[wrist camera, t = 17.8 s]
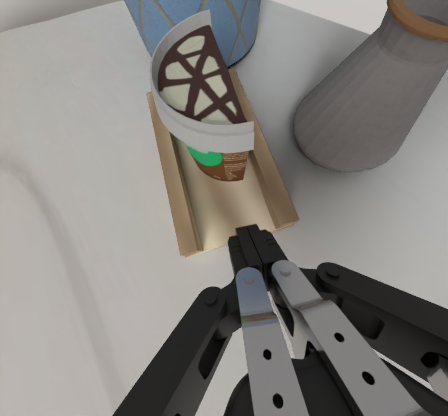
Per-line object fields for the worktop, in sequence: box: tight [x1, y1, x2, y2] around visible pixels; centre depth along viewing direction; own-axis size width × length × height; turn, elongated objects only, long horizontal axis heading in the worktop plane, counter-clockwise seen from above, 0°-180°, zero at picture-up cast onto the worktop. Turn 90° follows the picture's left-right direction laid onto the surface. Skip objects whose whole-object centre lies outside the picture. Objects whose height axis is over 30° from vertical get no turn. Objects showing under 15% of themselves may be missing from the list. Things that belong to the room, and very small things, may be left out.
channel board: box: [147, 68, 299, 257], centre depth 20 cm, size 12×20×5 cm, turn 16°
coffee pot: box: [294, 0, 448, 172], centre depth 15 cm, size 21×12×15 cm, turn 122°
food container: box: [150, 9, 254, 182], centre depth 17 cm, size 12×6×10 cm, turn 15°
